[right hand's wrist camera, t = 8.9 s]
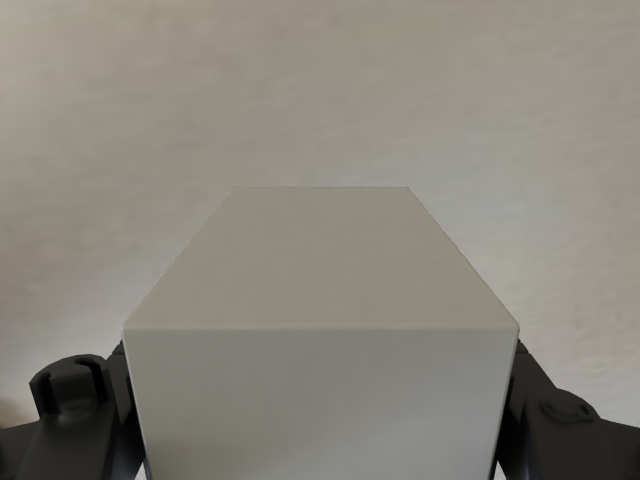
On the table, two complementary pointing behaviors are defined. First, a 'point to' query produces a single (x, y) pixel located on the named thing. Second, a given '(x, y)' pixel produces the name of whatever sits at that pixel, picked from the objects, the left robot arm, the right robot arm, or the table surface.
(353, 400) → the bar
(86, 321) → the table surface
